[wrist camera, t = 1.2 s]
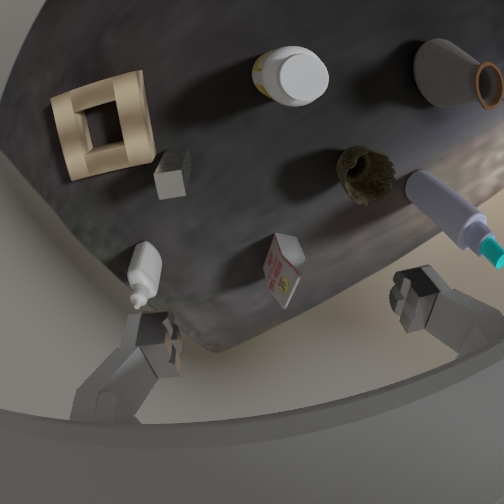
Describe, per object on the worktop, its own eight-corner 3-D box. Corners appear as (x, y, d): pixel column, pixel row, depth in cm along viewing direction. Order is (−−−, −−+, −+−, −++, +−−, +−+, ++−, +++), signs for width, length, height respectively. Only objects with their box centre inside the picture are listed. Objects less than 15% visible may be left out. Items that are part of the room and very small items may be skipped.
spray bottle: (398, 196, 46) (479, 278, 29) (412, 164, 43) (504, 236, 25) (422, 204, 48) (499, 281, 30) (435, 174, 45) (521, 245, 27)
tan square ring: (62, 94, 31) (50, 98, 28) (141, 70, 31) (135, 71, 29) (80, 171, 38) (71, 180, 35) (156, 154, 38) (151, 162, 36)
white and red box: (296, 236, 49) (313, 276, 41) (282, 269, 52) (296, 310, 44) (274, 232, 48) (288, 272, 40) (262, 266, 52) (272, 308, 43)
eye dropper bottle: (162, 240, 46) (151, 293, 37) (162, 269, 49) (153, 322, 40) (135, 238, 45) (118, 290, 36) (137, 267, 49) (123, 319, 39)
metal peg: (166, 148, 38) (153, 174, 30) (188, 145, 38) (181, 169, 30) (170, 169, 40) (159, 199, 32) (191, 165, 40) (186, 195, 32)
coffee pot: (398, 93, 36) (466, 115, 24) (410, 26, 30) (481, 28, 18) (482, 130, 40) (540, 161, 28) (494, 76, 33) (555, 97, 21)
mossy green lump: (326, 186, 44) (346, 210, 38) (321, 139, 40) (343, 157, 33) (370, 178, 44) (395, 200, 38) (368, 133, 40) (396, 149, 33)
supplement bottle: (302, 97, 36) (338, 112, 26) (252, 99, 36) (270, 114, 25) (300, 50, 32) (338, 45, 22) (249, 50, 32) (266, 43, 21)
